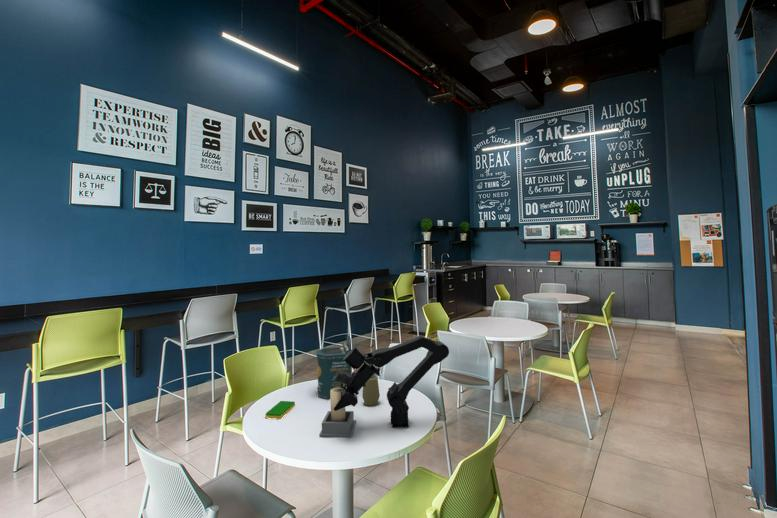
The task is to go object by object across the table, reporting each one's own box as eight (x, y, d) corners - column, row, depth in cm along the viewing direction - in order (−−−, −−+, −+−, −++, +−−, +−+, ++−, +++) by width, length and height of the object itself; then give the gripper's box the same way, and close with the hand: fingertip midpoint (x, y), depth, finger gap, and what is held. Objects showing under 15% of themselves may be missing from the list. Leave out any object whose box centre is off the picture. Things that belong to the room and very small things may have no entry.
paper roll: (348, 421, 141) (347, 388, 141) (341, 427, 136) (340, 393, 136) (335, 419, 144) (334, 386, 144) (328, 425, 138) (327, 391, 138)
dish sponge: (295, 406, 164) (295, 401, 164) (280, 420, 150) (280, 414, 150) (281, 405, 165) (280, 400, 165) (265, 419, 152) (265, 413, 152)
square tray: (356, 422, 146) (355, 410, 146) (351, 437, 134) (350, 424, 134) (326, 422, 146) (326, 410, 146) (319, 437, 134) (319, 423, 134)
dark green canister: (352, 397, 172) (351, 339, 172) (318, 400, 169) (317, 341, 169) (348, 385, 188) (347, 332, 188) (317, 388, 185) (315, 334, 184)
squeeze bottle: (364, 408, 159) (363, 367, 159) (360, 401, 167) (359, 362, 167) (381, 405, 161) (380, 366, 161) (377, 399, 169) (376, 361, 169)
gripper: (346, 356, 150) (320, 385, 148) (347, 370, 131) (317, 403, 130) (365, 374, 151) (340, 402, 149) (369, 390, 132) (340, 422, 131)
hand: (334, 406), depth 140 cm, fingers closed on paper roll, 5 cm apart
